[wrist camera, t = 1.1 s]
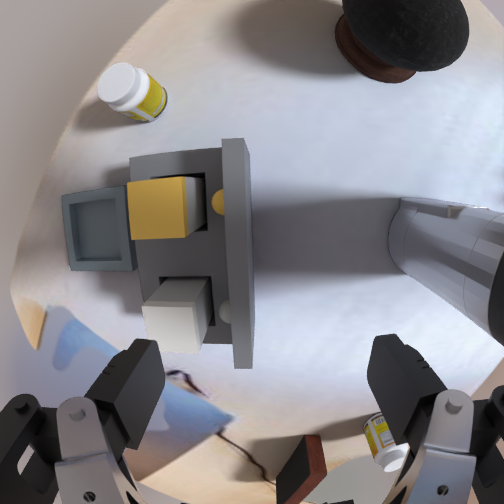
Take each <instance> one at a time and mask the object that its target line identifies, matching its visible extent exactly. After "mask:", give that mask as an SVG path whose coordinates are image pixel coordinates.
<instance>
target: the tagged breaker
mask: <svg viewBox="0 0 504 504" xmlns="http://www.w3.org/2000/svg"><path fill="white" fill-rule="evenodd" d="M127 193H128V208H129V220H130V231H131V240H139V239H163V238H185V237H187V236H188V235H189V234H191V233H192V232H194V231H195V230H196V229H198V228H199V227H201V226H202V225H204V224H205V223H206V222H208V221H207V202H206V179H201V178H191V177H171V178H161V179H152V180H143V181H135V182H127Z"/></svg>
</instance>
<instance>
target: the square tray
mask: <svg viewBox="0 0 504 504" xmlns="http://www.w3.org/2000/svg"><path fill="white" fill-rule="evenodd" d="M62 209H63V220H64V229H65V237H66V244H67V251H68V257H69V263H70V268H71V271H133V270H135V269H136V268H138V262H137V255H136V246H135V240H131V231H130V220H129V208H128V193H127V185H126V186H117V187H110V188H103V189H97V190H90V191H84V192H78V193H73V194H67V195H62Z"/></svg>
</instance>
